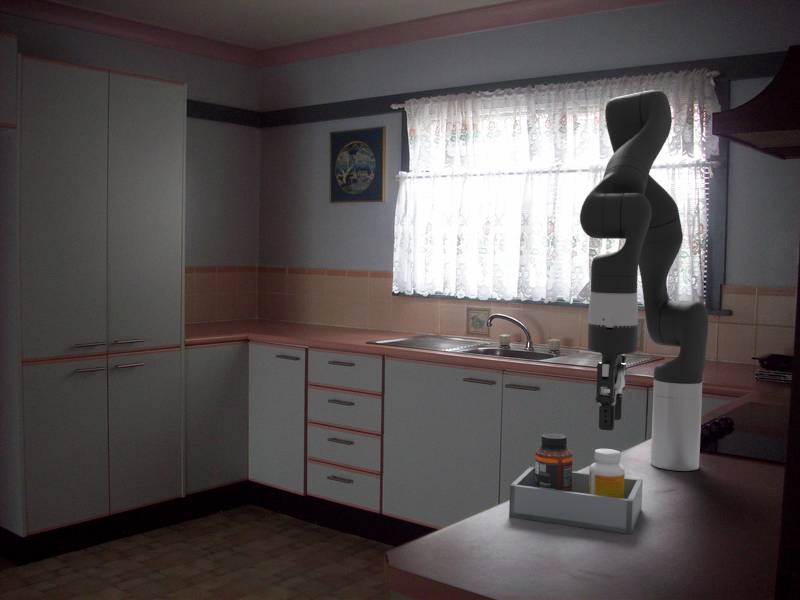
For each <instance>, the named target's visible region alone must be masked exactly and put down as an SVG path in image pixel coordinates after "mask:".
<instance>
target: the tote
mask: <svg viewBox="0 0 800 600" xmlns="http://www.w3.org/2000/svg"><path fill="white" fill-rule="evenodd" d="M643 481H644V480H643V479H639V478H631V477H626V476H624V498H616V497H608V496H600V495H592V494H589V472H581V471H573V470H572V492H569V491H561V490H553V489H545V488H537V487H535V466H529V467H528V468H527V469H526V470H525V471H524V472H523V473H522V474H520V475H519V476H518V478H516V479H515V480H514V481H513V482H512V483H511V484H510V485H509V504H508V505H509V511H508V517H509V518H515V519H522V520H528V521H529V520H530V521H535V522H541V523H542V522H543V523H549V524H550V523H551V524H556V525H563V526H564V525H565V526H570V527H576V528H577V527H579V528H584V529H590V530H591V529H592V530H597V531H598V530H599V531H604V532H611V533H619V534H626V535H632V534H633V531H634V528H635V526H636V524H637V521H638V519H639V517H640V515H641V512H642V509H643V508H642V507H643V506H642V503H643Z"/></svg>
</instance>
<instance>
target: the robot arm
mask: <svg viewBox="0 0 800 600" xmlns="http://www.w3.org/2000/svg"><path fill="white" fill-rule="evenodd" d="M604 114H605V115H604V117H605V124H606V129H607V134H608V137H609V140H610V144H611V148H612V151H613V154H612V156H610V159H609V160H608V163H607V164H606V168H605V170H604V174H603V177H602V179H601V180H600V181H599V182H598V184H597V185H596V186H595V187H594V188H593V189H592V190H591V191H590V192H589V193H588V195H587V196H586V198H585V199H584V201H583V203H582V206H581V209H580V214H579V223H580V226H581V229H582V231H583V232H584V233H585V234H586V235H587V236H588V237H590V238H593V239H599V240H600V239H601V240H602V239H603V240H606V239H607V240H610V239H613V240H619V239H621V240H624V239H625V242H624V244H623V246H622V247H621V248H620V249H619V250H617V251H613V252H609V253H605V254H604V253H603V254H600V255H597V256H596V255H595V257H593V259H592V261H591V267H590V269H591V271H590V275H591V276H590V296H589V303H588V320H587V321H588V326H587V327H588V328H587V349H588V351H590V352H592V353H597V354H599V353H600V354H601V361H600V362H598V363H597V365H596V392H595V395H596V397H595V403H597V404H598V428H599V429H600V430H602V431H613V430H614V428H615V421H620V420H622V419H621V418H622V412H623V411H622V409H623V407H622V406H623V396H624V393H625V389H626V381H627V380H626V372H627V364H626V360H627V357H626V355H632V354H635V353H636V352H637V351H638V341H639V340H638V339H639V338H638V336H639V335H638V334H639V333H638V332H639V330H638V329H639V301H638V274H640V280H641V288H642V296H643V297H642V298H643V306H644V314H645V323H646V327H647V328H646V329H647V332H648V336H649V338H650V339H651V341H652V342H654V343H655V344H657V345H661V346H666V347H667V346H669V347H677V348H678V347H679V348H680V349H679V353H678V355H677V356H676V357H675V358H673V359H672V360H670V361H666V362H661V363H659V364H656V365H655V366H654V368H653V369H654V370H653V391H652V394H653V395H652V397H653V398H652V419H651V420H652V422H651V441H650V442H651V444H650V465H652V466H653V467H656V468H659V469H664V470H670V471H679V472H681V471H682V472H689V471H691V472H692V471H696V470H698V469H699V467H700V451H701V450H700V449H701V430H702V429H701V424H702V400H703V397H702V395H703V375H704V370H705V367H706V357H707V356H706V354H707V343H708V333H709V313H708V310H707V308H706V306H705V304H704V303H702V302H701V301H694V300H679V299H678V300H677V299H670V297H669V292H668V284H667V283H668V276H669V273H670V270H671V268H672V266H673V264H674V262H675V261H676V258H677V256H678V254H679V252H680V250H681V247H682V244H683V238H684V234H683V228H682V222H681V217H680V213H679V212H680V211H679V207H678V205H677V203H676V201H675V200H674V198H673V197H672V196H671V194H670V193H669V192H668V191H667V190H666V189H665V188H664V187H662V185H661V184H659V182H658V181H657V180H655V179H654V178H653V177H652V175H651V174H650V172H651V169H652V166H653V164H654V163H655V161H656V159H657V158H658V156H659V154H660V152H661V150H662V148H663V147H664V145H665V143H666V142H667V139H668V137H669V136H670V133H671V129H672V123H673V122H672V121H673V115H672V109H671V105H670V101H669V99H668V96H667V95H666V93H664V91H662V90H658V89H654V90H653V89H652V90H651V89H650V90H646V91H640V92H635V93H631V94H626V95H621V96H617V97H612V98H610V99H609V100H608V101H607V103H606V105H605V113H604Z"/></svg>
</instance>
